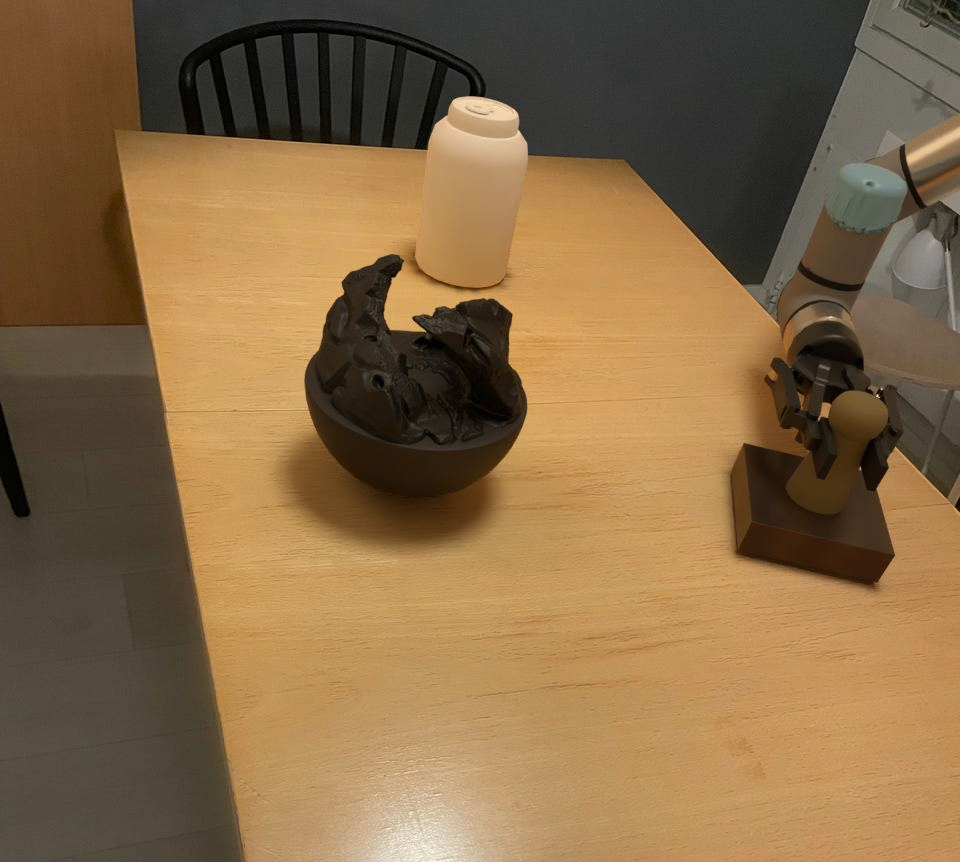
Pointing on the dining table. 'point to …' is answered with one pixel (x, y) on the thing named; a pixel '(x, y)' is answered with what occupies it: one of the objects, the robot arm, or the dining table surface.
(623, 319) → the dining table surface
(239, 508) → the dining table surface
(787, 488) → the wooden peg doll
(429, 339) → the bowl of black rocks
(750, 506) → the walnut stand
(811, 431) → the robot arm
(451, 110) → the can
